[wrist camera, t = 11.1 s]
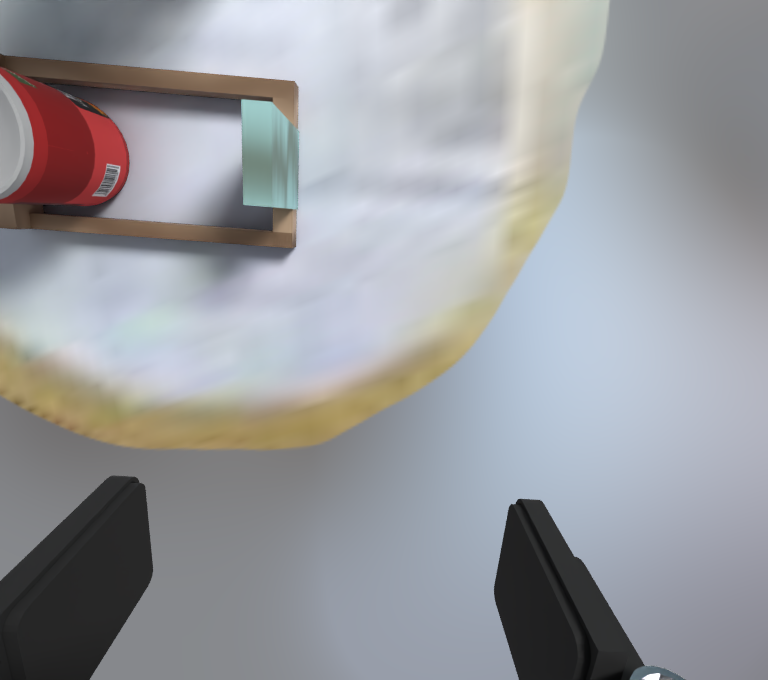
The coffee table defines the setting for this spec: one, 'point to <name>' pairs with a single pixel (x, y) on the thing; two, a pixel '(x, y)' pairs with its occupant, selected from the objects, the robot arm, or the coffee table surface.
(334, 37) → the coffee table surface
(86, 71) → the wooden rectangular frame
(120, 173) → the canned food
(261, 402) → the coffee table surface
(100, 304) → the coffee table surface
